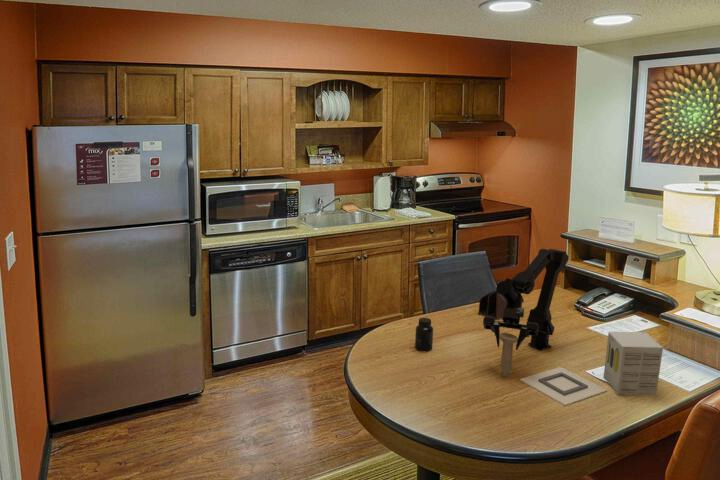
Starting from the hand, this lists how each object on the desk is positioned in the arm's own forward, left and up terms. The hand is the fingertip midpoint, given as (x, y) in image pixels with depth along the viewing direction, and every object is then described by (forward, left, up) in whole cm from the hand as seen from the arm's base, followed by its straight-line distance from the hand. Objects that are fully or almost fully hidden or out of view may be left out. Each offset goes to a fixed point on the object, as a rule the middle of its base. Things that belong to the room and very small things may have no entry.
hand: (507, 348), depth 204 cm
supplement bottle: (+11, -34, -11) cm, 37 cm away
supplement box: (-33, +25, -11) cm, 43 cm away
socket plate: (-13, +14, -11) cm, 22 cm away
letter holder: (-44, -51, -11) cm, 68 cm away
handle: (-1, -1, -11) cm, 11 cm away
